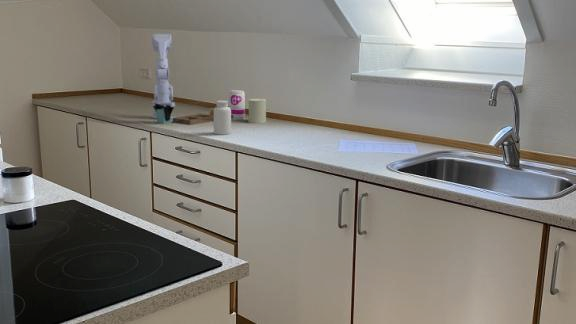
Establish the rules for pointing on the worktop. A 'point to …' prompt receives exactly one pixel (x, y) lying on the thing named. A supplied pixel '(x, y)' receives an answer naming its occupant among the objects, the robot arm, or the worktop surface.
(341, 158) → the worktop surface
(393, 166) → the worktop surface
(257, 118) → the can
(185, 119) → the walnut frame
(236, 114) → the supplement can
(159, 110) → the teal block
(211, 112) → the maple block
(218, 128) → the pill bottle
